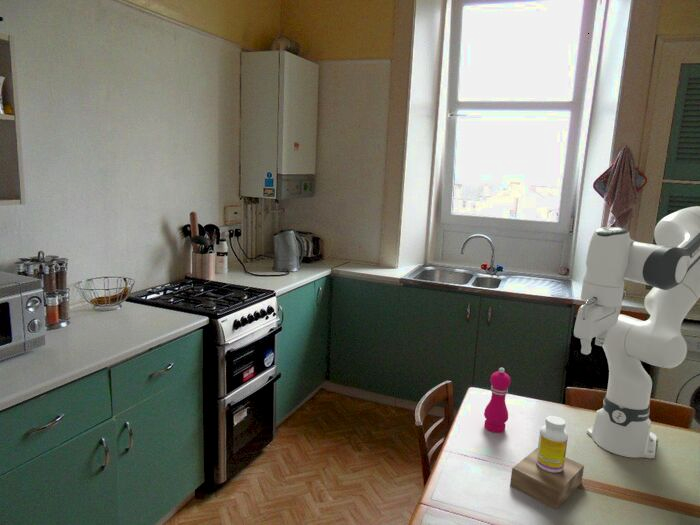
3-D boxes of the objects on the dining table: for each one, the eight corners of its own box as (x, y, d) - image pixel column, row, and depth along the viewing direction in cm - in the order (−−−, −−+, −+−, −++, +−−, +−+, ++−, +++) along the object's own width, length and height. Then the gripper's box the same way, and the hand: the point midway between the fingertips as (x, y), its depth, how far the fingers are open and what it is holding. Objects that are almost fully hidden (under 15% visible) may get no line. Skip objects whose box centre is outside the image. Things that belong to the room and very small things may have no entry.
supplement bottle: (565, 476, 126) (572, 428, 123) (537, 471, 127) (544, 424, 125) (560, 461, 132) (567, 415, 130) (534, 457, 134) (540, 412, 131)
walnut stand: (537, 462, 140) (539, 445, 139) (581, 482, 132) (584, 465, 131) (509, 485, 129) (512, 467, 128) (556, 509, 121) (559, 490, 120)
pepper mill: (487, 419, 163) (494, 361, 159) (509, 427, 159) (517, 367, 155) (479, 428, 157) (486, 367, 153) (501, 436, 153) (509, 374, 149)
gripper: (600, 304, 112) (590, 363, 114) (628, 291, 126) (619, 344, 129) (571, 297, 116) (562, 354, 119) (602, 286, 131) (593, 337, 133)
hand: (592, 349), depth 124 cm, fingers open, 8 cm apart
